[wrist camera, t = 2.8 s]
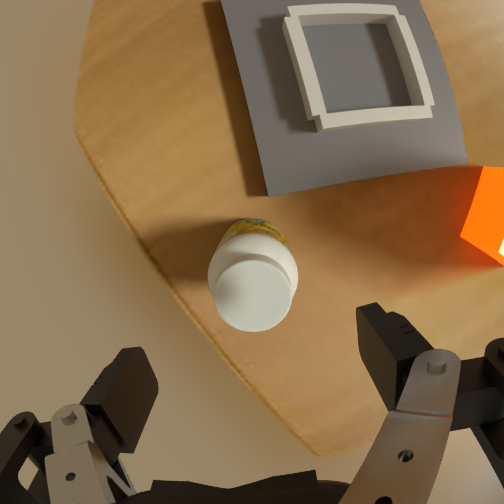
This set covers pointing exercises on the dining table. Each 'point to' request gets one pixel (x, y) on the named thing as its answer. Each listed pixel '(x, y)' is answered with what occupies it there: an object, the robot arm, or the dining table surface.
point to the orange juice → (487, 214)
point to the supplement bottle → (252, 276)
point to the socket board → (343, 90)
